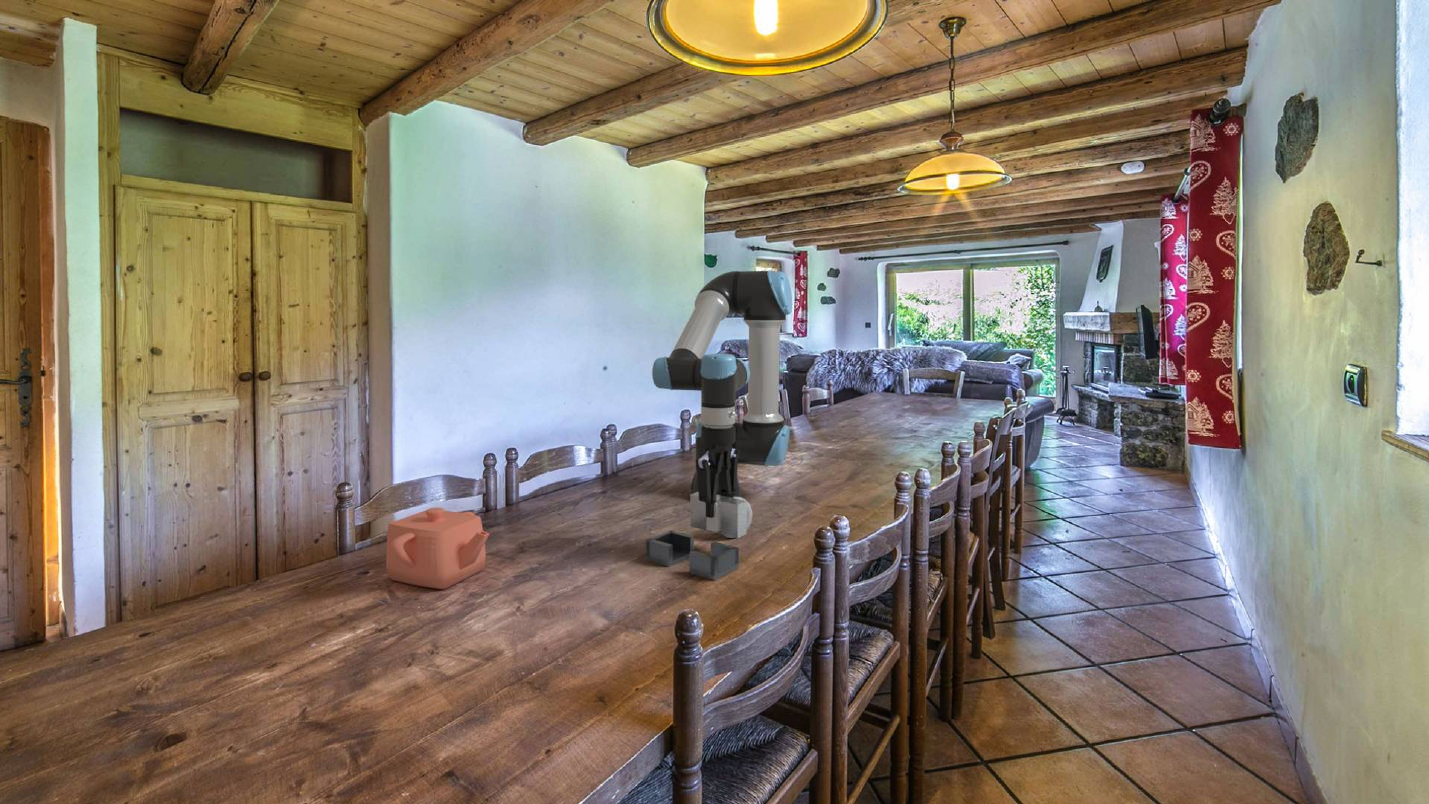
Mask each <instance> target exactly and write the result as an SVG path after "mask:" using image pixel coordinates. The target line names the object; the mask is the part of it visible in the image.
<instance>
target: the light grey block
mask: <svg viewBox="0 0 1429 804" xmlns="http://www.w3.org/2000/svg"><path fill="white" fill-rule="evenodd" d="M689 499H690V500H689V502H690V504H689V505H690V507H689V508H690V511H689V512H690V513H689V514H690V516H689V517H690V518H689V519H690V527H691V528H694V529H699V530H703V531H707V532H711V533H715V534H718V535H722V536H724V535H726V536H730V537H734V538H733V539H739V538H742V537H743V536H745V535H747V534H748V529H747V502H748V501H747V500H746V499H745V500H746V501H745V500H740V499H735V498H730V497H726V496H721V495H716V503H718V532H713V531H709V530H706V503H705V502H702V501H699V492H696V493H693V494H691V495H690V497H689ZM726 536H725V537H726Z"/></svg>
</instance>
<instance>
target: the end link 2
mask: <svg viewBox="0 0 1429 804" xmlns="http://www.w3.org/2000/svg"><path fill="white" fill-rule="evenodd" d="M739 548H740V547H737V546H732V545H729V544H725V543H721V542H717V541H712V542H710V554H707V553H703V552H699V551H696V550H694V551H691V552H690V558H689V574H691V575H694V576H697V577H701V578H704V579H708V580H711V581H713V582H714V581H717V580H718V579H721V578H723V577H724V576H727V575H728V574H731V573H733V572H735V571H737V570H738V569H739V556H740V555H739V554H740V553H739V550H740V549H739Z"/></svg>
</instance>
